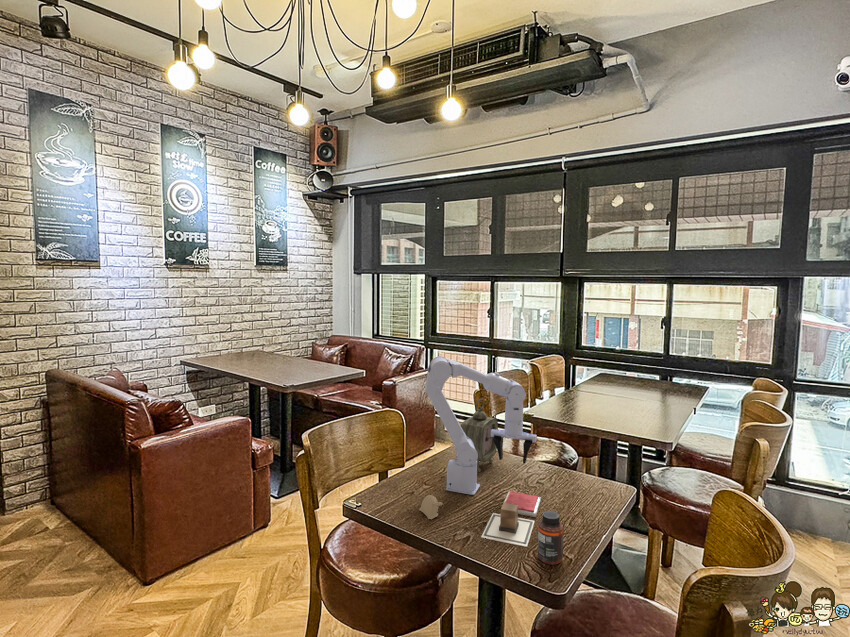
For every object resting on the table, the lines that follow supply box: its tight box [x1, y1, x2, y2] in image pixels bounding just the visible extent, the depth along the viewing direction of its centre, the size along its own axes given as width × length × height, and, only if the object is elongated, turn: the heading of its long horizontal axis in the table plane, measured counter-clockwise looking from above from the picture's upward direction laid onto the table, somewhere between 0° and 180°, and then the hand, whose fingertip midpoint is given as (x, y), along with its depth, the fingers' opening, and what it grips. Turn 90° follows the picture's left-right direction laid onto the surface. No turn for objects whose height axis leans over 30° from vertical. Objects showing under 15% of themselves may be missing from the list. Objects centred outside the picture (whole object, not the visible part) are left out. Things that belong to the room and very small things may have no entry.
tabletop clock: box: [460, 398, 499, 474], centre depth 175 cm, size 14×9×25 cm, turn 149°
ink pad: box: [503, 491, 542, 518], centre depth 145 cm, size 10×11×2 cm
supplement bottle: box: [537, 510, 564, 566], centre depth 118 cm, size 6×6×11 cm
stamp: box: [499, 502, 519, 534], centre depth 132 cm, size 5×5×6 cm
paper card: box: [480, 512, 536, 548], centre depth 132 cm, size 12×14×1 cm
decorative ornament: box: [418, 494, 443, 520], centre depth 139 cm, size 4×8×5 cm, turn 26°
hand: (512, 460), depth 157 cm, fingers open, 7 cm apart
